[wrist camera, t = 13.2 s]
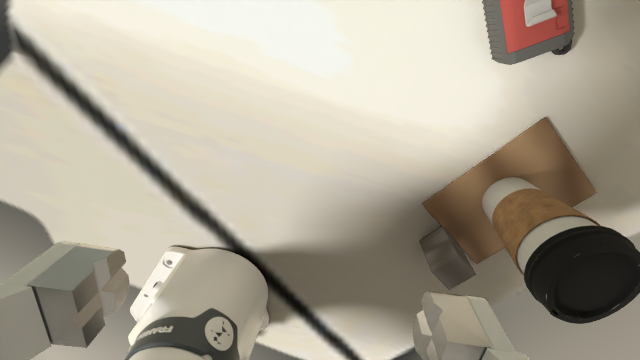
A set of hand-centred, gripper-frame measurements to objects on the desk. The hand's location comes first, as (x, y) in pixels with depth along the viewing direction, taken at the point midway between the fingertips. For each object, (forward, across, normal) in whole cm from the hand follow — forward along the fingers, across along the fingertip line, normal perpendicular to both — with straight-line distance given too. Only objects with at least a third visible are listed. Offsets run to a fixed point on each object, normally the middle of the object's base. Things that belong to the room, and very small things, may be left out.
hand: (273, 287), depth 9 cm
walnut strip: (+29, -22, +10) cm, 38 cm away
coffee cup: (+29, -24, +9) cm, 38 cm away
